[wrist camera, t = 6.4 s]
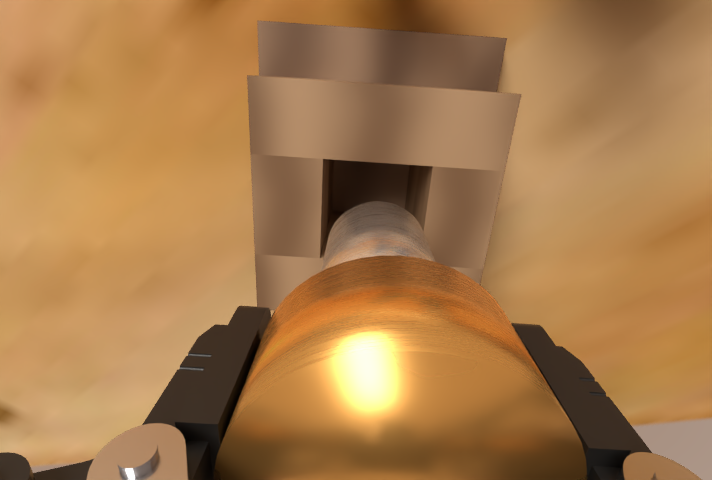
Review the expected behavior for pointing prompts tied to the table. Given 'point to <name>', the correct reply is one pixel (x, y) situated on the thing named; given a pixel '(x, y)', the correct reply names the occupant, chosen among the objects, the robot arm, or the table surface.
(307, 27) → the hitch block
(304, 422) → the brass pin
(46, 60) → the table surface
